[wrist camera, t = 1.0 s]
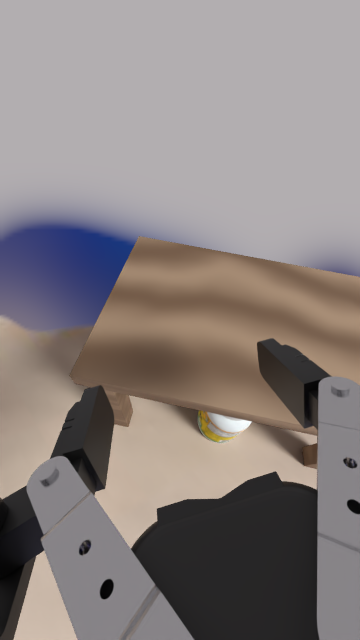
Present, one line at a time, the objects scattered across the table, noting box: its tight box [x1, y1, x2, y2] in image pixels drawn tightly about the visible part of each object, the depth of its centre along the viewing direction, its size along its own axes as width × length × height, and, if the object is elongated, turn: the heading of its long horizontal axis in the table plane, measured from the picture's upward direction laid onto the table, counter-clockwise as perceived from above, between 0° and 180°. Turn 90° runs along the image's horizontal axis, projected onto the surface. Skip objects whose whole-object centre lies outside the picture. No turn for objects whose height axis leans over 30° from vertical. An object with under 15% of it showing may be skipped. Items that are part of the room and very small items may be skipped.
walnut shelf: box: [69, 236, 360, 469], centre depth 27 cm, size 17×27×16 cm, turn 79°
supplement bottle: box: [198, 410, 251, 443], centre depth 27 cm, size 5×5×10 cm
